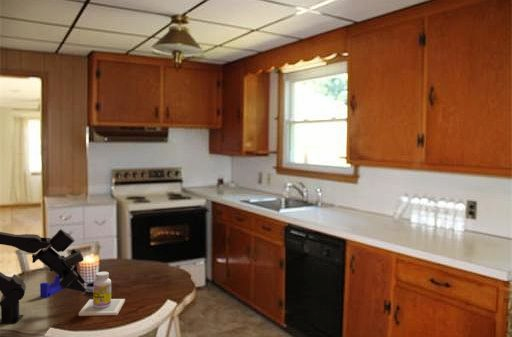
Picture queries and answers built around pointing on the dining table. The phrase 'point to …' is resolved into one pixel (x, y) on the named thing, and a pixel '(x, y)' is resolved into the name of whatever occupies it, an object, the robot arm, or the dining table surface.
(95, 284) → the supplement bottle
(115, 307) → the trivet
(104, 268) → the dining table surface
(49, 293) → the cable clip
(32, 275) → the dining table surface
